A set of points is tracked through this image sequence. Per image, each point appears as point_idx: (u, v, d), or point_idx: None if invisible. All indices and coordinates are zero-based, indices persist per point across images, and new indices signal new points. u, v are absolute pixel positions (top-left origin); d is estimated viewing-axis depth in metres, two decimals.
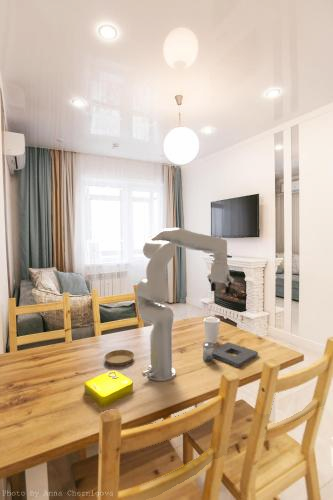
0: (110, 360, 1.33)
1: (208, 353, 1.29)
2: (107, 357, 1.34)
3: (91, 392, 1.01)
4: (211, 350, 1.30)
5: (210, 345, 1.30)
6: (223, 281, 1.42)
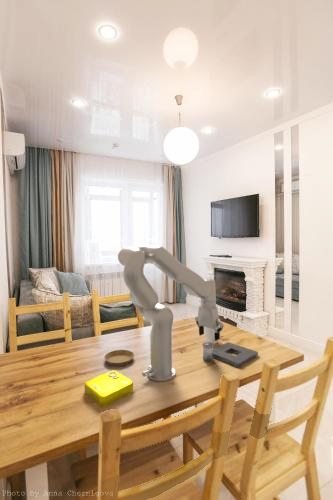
0: (110, 360, 1.33)
1: (208, 353, 1.29)
2: (107, 357, 1.34)
3: (91, 392, 1.01)
4: (211, 350, 1.30)
5: (210, 345, 1.30)
6: (212, 327, 1.27)
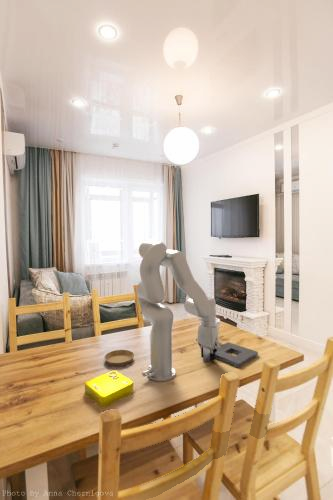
0: (110, 360, 1.33)
1: (208, 353, 1.29)
2: (107, 357, 1.34)
3: (91, 392, 1.01)
4: None
5: None
6: (211, 346, 1.27)
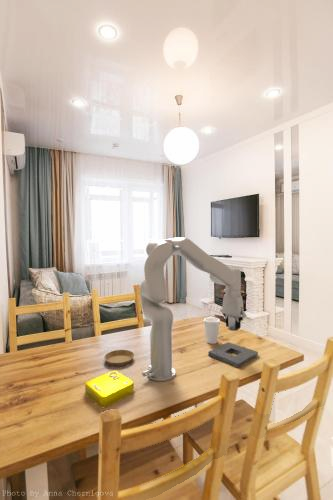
0: (110, 360, 1.33)
1: (234, 322, 1.33)
2: (107, 357, 1.34)
3: (91, 393, 1.01)
4: None
5: None
6: (237, 315, 1.31)
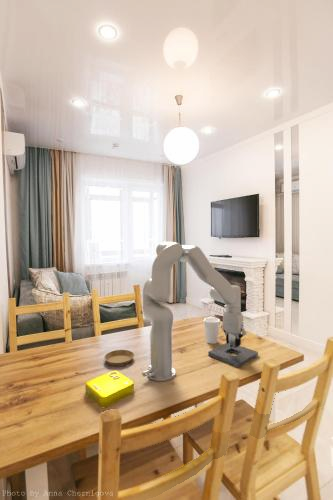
0: (110, 360, 1.33)
1: (234, 339, 1.34)
2: (107, 357, 1.34)
3: (91, 393, 1.01)
4: None
5: None
6: (237, 332, 1.31)
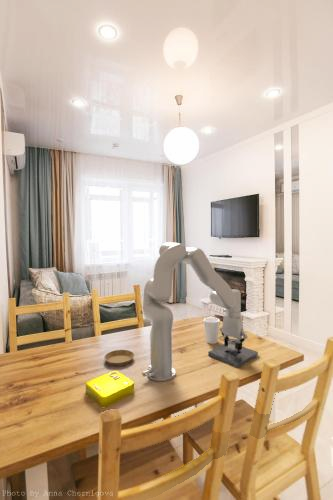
0: (110, 360, 1.33)
1: (234, 349, 1.34)
2: (107, 357, 1.34)
3: (92, 393, 1.01)
4: (236, 346, 1.34)
5: (235, 341, 1.35)
6: (236, 336, 1.31)
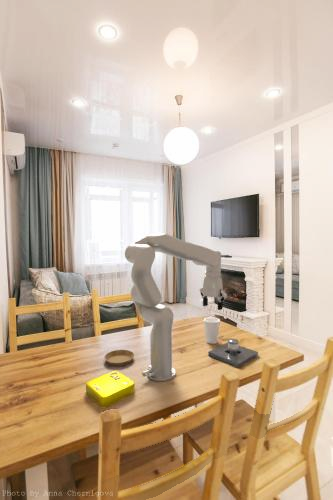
0: (110, 360, 1.33)
1: (234, 349, 1.34)
2: (107, 357, 1.34)
3: (92, 393, 1.01)
4: (236, 346, 1.34)
5: (235, 341, 1.35)
6: (215, 296, 1.32)
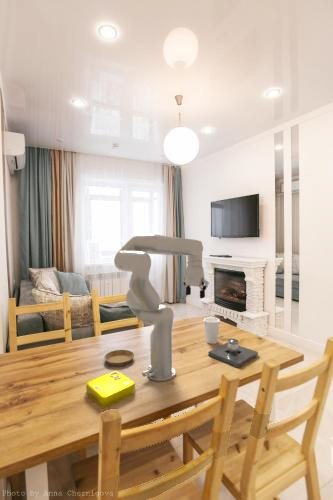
0: (110, 360, 1.33)
1: (234, 349, 1.34)
2: (107, 357, 1.34)
3: (92, 393, 1.01)
4: (236, 346, 1.34)
5: (235, 341, 1.35)
6: (197, 285, 1.34)
